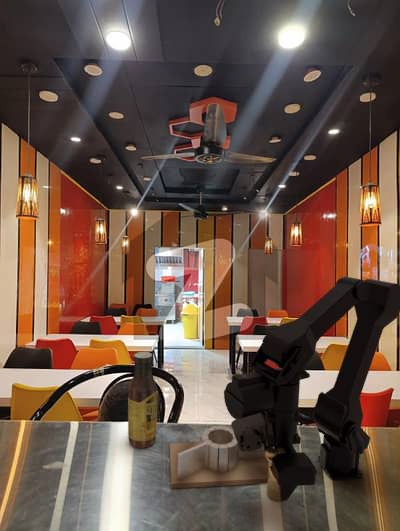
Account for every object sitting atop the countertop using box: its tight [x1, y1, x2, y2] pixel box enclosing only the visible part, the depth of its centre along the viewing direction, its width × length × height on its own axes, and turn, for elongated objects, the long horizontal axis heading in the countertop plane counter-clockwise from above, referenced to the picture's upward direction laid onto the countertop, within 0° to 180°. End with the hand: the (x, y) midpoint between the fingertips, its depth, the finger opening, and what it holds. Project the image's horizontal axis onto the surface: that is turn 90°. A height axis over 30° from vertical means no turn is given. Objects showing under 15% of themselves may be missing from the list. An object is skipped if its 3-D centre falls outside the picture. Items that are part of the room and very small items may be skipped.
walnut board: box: [169, 441, 268, 490], centre depth 74 cm, size 20×12×1 cm, turn 96°
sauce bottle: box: [127, 351, 158, 449], centre depth 80 cm, size 7×6×20 cm
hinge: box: [178, 425, 265, 480], centre depth 72 cm, size 19×9×5 cm, turn 96°
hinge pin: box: [265, 447, 284, 504], centre depth 65 cm, size 5×5×8 cm
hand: (277, 484), depth 65 cm, fingers open, 7 cm apart
